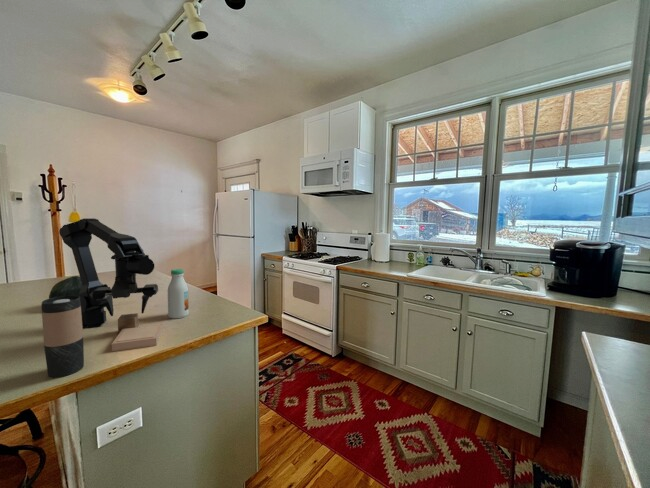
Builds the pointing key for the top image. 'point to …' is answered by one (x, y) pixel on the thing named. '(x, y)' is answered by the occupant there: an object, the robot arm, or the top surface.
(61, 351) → the travel mug
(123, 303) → the top surface
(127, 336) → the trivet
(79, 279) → the squash
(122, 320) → the walnut block
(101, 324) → the robot arm
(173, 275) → the milk bottle
